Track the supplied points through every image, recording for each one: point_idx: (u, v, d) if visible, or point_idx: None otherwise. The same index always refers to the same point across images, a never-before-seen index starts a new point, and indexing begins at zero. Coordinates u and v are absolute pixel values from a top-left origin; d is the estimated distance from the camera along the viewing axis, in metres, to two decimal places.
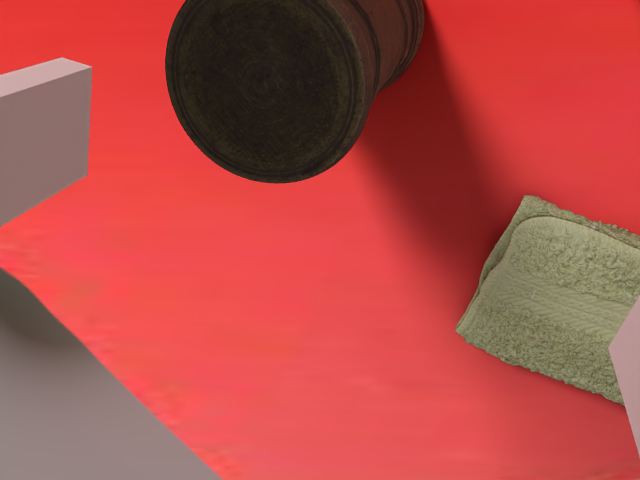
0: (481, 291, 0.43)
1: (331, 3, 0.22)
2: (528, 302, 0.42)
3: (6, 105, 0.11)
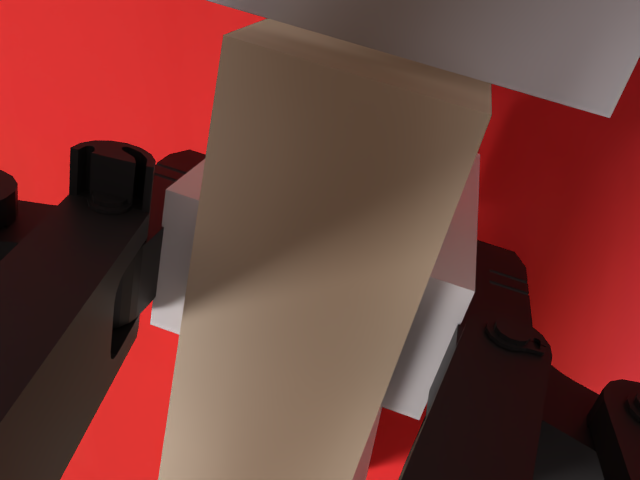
0: None
1: None
2: None
3: None
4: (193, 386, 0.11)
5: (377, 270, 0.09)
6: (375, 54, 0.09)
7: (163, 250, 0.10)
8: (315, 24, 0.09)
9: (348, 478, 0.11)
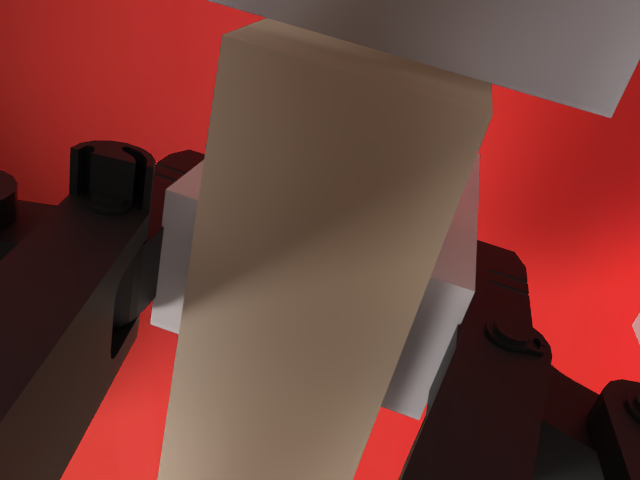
0: None
1: None
2: None
3: None
4: (192, 387, 0.11)
5: (377, 272, 0.09)
6: (375, 54, 0.09)
7: (163, 250, 0.10)
8: (314, 24, 0.09)
9: None
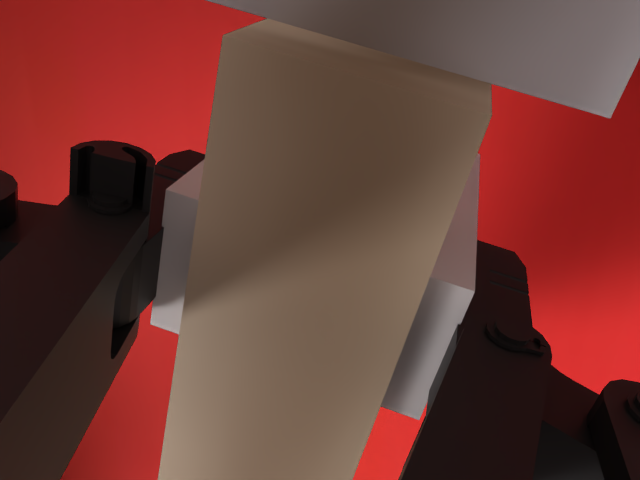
0: None
1: None
2: None
3: None
4: (192, 387, 0.11)
5: (377, 271, 0.09)
6: (375, 54, 0.09)
7: (163, 250, 0.10)
8: (315, 24, 0.09)
9: (348, 479, 0.11)
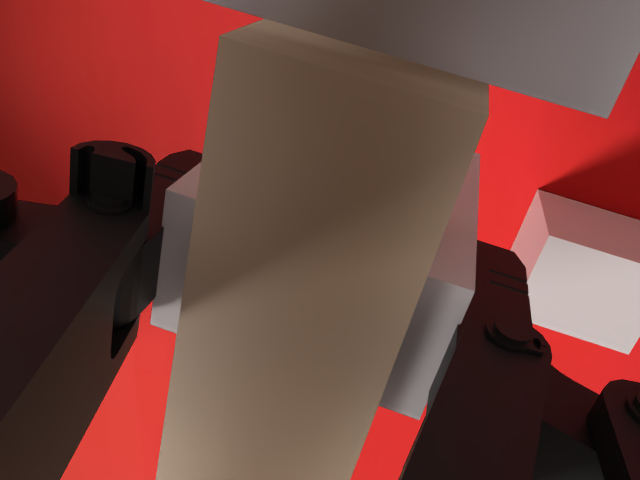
0: None
1: None
2: None
3: None
4: (190, 387, 0.11)
5: (374, 272, 0.09)
6: (372, 54, 0.09)
7: (163, 250, 0.10)
8: (312, 24, 0.09)
9: (345, 479, 0.11)
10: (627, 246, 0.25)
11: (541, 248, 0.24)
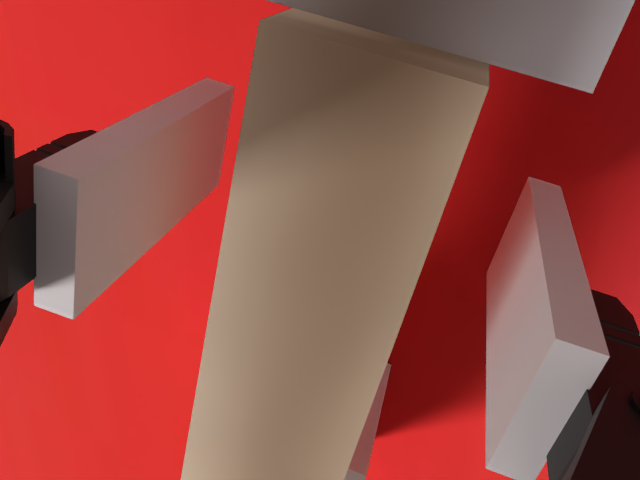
0: None
1: None
2: None
3: (183, 125, 0.12)
4: (224, 336, 0.12)
5: (390, 226, 0.10)
6: (388, 38, 0.10)
7: (37, 228, 0.10)
8: (335, 12, 0.10)
9: (362, 418, 0.12)
10: None
11: None
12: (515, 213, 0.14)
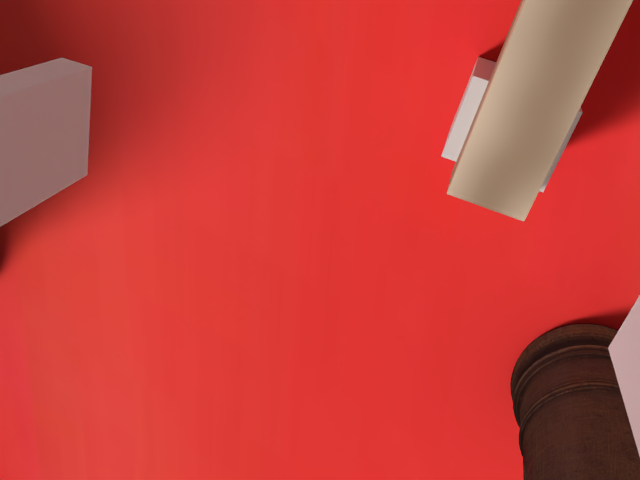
0: None
1: None
2: None
3: (6, 105, 0.11)
4: None
5: None
6: None
7: None
8: None
9: (630, 0, 0.22)
10: None
11: (467, 89, 0.28)
12: None
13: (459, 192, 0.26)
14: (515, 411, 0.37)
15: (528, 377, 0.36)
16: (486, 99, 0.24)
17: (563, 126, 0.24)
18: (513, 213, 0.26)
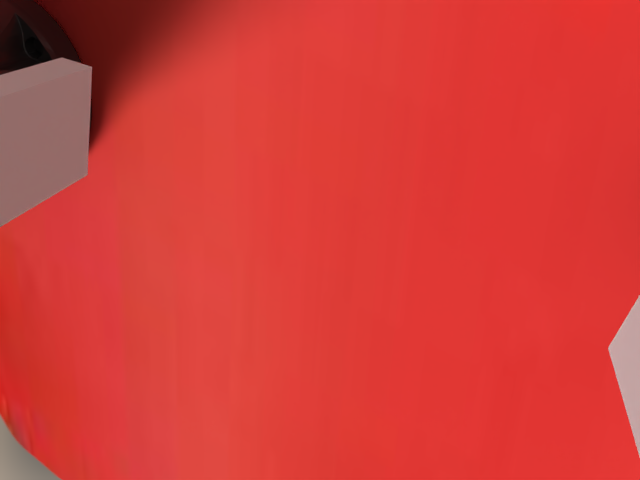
0: None
1: None
2: None
3: (6, 105, 0.11)
4: None
5: None
6: None
7: None
8: None
9: None
10: None
11: None
12: None
13: None
14: None
15: None
16: None
17: None
18: None
